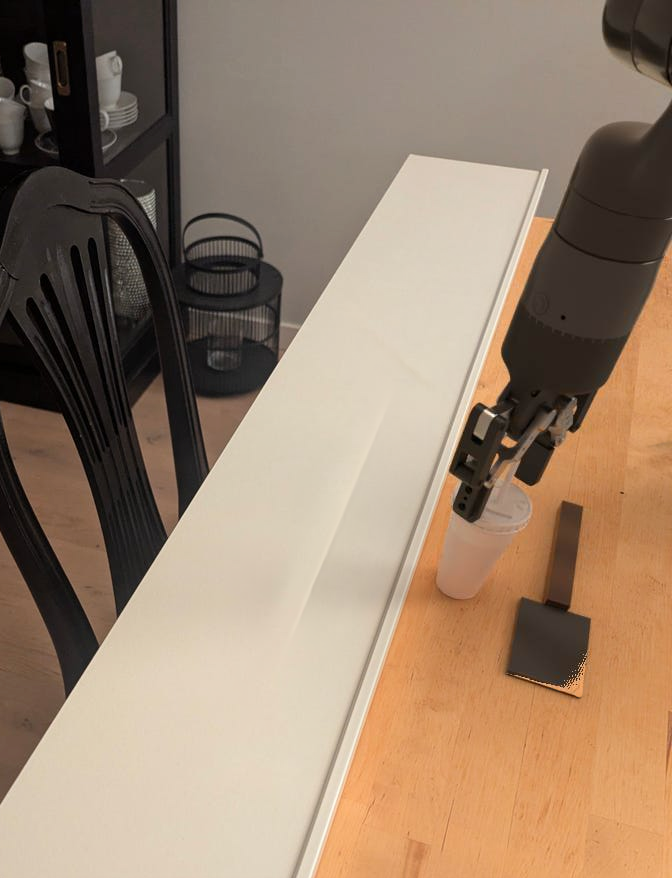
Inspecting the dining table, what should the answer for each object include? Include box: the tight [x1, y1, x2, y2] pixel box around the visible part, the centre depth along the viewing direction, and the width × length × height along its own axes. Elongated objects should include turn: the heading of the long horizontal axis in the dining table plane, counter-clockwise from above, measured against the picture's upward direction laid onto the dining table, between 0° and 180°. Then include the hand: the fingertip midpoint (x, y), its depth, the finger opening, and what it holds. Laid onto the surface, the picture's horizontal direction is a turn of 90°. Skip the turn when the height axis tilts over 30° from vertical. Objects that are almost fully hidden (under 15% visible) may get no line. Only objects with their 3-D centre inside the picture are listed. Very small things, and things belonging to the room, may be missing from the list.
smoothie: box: [435, 460, 534, 600], centre depth 75 cm, size 6×6×14 cm
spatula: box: [505, 499, 592, 689], centre depth 80 cm, size 24×6×1 cm, turn 159°
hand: (495, 497), depth 72 cm, fingers open, 7 cm apart
